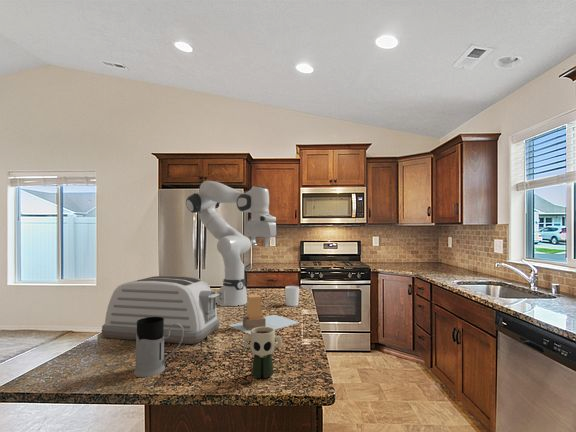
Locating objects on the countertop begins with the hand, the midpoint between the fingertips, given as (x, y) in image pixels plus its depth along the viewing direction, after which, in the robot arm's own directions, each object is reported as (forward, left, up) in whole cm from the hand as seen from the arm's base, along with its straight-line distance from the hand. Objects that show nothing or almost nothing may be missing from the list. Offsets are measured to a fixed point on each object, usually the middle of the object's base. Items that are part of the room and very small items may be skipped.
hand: (260, 246), depth 158 cm
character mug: (+51, -38, -34) cm, 72 cm away
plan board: (+14, -8, -34) cm, 38 cm away
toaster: (-7, -44, -34) cm, 56 cm away
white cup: (-7, +28, -34) cm, 45 cm away
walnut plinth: (+14, -14, -33) cm, 39 cm away
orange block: (+14, -14, -29) cm, 35 cm away
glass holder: (+27, -59, -34) cm, 73 cm away
